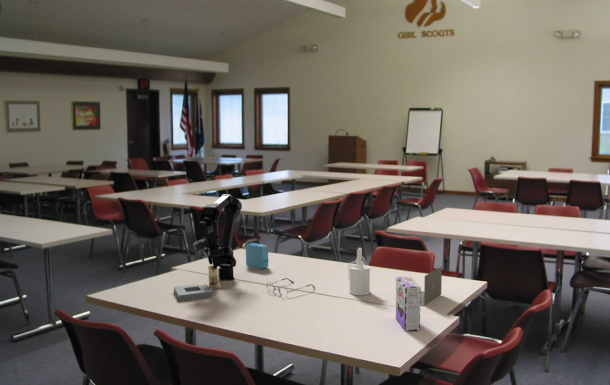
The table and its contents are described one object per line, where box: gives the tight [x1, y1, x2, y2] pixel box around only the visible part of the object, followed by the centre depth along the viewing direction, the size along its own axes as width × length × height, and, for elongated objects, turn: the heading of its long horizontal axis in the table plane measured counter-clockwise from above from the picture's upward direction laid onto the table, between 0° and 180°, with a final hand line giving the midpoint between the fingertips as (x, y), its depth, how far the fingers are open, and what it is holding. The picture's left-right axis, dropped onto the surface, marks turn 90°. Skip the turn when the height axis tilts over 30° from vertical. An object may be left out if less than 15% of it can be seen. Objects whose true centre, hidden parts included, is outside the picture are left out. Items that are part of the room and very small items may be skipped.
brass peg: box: [207, 265, 219, 285], centre depth 259 cm, size 4×4×8 cm
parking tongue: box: [205, 281, 222, 290], centre depth 259 cm, size 6×6×2 cm
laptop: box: [420, 266, 443, 307], centre depth 239 cm, size 18×12×13 cm
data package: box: [245, 242, 269, 270], centre depth 294 cm, size 12×4×12 cm, turn 52°
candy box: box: [395, 276, 422, 332], centre depth 207 cm, size 14×6×16 cm, turn 5°
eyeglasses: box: [265, 277, 315, 296], centre depth 254 cm, size 16×19×5 cm
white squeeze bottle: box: [347, 247, 371, 297], centre depth 248 cm, size 10×9×20 cm
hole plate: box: [173, 282, 213, 302], centre depth 248 cm, size 14×14×3 cm
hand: (212, 266), depth 258 cm, fingers open, 9 cm apart
